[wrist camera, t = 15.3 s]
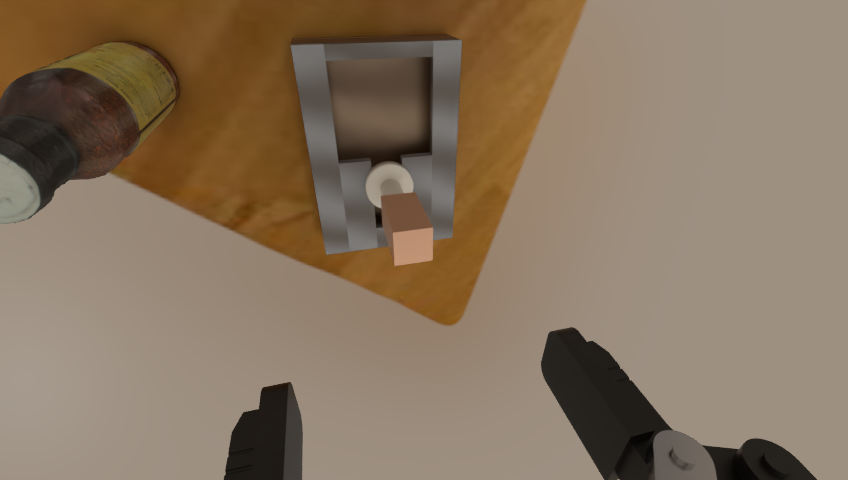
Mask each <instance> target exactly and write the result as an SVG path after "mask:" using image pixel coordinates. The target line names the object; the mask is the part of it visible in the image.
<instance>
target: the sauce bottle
mask: <svg viewBox="0 0 848 480" xmlns="http://www.w3.org/2000/svg"><path fill="white" fill-rule="evenodd" d="M178 95H179V88H178V82H177V79H176V77H175V75H174V73H173V71H172V69H171V67H170V66H169V65H168V63H167V62H166V61H165V60H164V59H163V58H162V57H161V56H159V55H158V54H157V53H155V52H154V51H152V50H151V49H149V48H147V47H144V46H142V45H140V44H137V43H133V42H120V43H119V42H111V43H105V44H101V45H99V46H96V47H94V48H91V49H89V50H86V51H84V52H81V53H79V54H75V55H72V56H70V57H67V58H65V59H63V60H61V61H57V62H55V63H54V64H50V65H48V66H46V67H42V68H40V69H37V70H35V71H33V72H30V73H28V74H26V75H24V76H22V77H20V78H18V79H16V80H15V81H14V82H12V83H11V84H10V85H9V86H8V87H7V89H6V90H5V92H4V93H3V95H2V97H1V100H0V224H7V223H16V222H20V221H23V220H26V219H29V218H31V217H32V216H33V215H35V214H36V213H37V212H38V211H39V210H41V209H42V208H44V207H45V206H46V205H47V204H48V203H49V202H50V201H51V200H52V197H53V196H54V192H55V190H56V189H57V188H59V187H60V186H61V185H62V184H65V183H66V182H67V181H68V180H77V179H91V178H96V177H100V176H103V175H106V174H107V173H108V172H109V171H111V170H112V169H114V168H115V167H116V166H117V165H118V164H119V163H120V162H121V161H122V160H123V159H124V158H126V157H127V156H129V155H130V154H131V153H132V152H133V151H134V150H135V149H136V148H137V147H138V146H139V145H140V144H141V143H142V142H143V141H144V140H145V139H146V138H147V136H148V135H149V134H150V133H151V132H152V131H153V130H154V129H155V128H156V127H157V126H158V125H159V124H160V123H161V122H162V121H163V120H164V118H165V117H166V116H167V115H168V114H169V113H170V112H171V111H172V109H173V107H174V105H175V102H176V100H177V97H178Z"/></svg>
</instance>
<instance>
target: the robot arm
mask: <svg viewBox="0 0 848 480" xmlns="http://www.w3.org/2000/svg"><path fill="white" fill-rule="evenodd" d="M541 368H542V373H543V376H544V378H545V381H546V382H547V384H548V386H549V388H550V389H551V391H552V393H553V394H554V396H555V397H556V399H557V401H558V403H559V404H560V406H561V408H562V409H563V411H564V413H565V414H566V416H567V418H568V420H569V421H570V423H571V425H572V426H573V428H574V430H575V431H576V433H577V434H578V436H579V438H580V440H581V441H582V443H583V445H584V446H585V448H586V450H587V451H588V453H589V455H590V456H591V458H592V460H593V461H594V463H595V465H596V467H597V468H598V470H599V472H600V473H601V475H602V476H603V478H604V480H617V479H620V480H817V479H816V478H815V477H814V476H813V475H812V474H811V473H810V472H809V471H808V470H807V469H806V468H805V467H804V466H803V465H802V463H800V461H799V460H797V459H796V458H795V457H794V456H793V455H792V454H791V453H790V452H788V451H786V450H785V449H784V448H782V447H780V446H779V445H777V444H775V443H773V442H770V441H767V440H763V439H750V440H747V441H746V442H745V443H744V444H743V445H742V446H741V448H740V449H731V448H721V447H711V446H703V445H701V444H700V443H698V442H697V441H696V440H695V439H693V438H691V437H690V436H688V435H686V434H684V433H681V432H678V431H673V430H672V429H671V428H670V427H669V426H668V425H667V424H666V422H665V421H664V420H663V419H662V417H661V416H660V415H659V414H658V413H657V411H656V410H655V409H654V408H653V406H652V405H651V404H650V403H649V402H648V400H647V399H646V398H645V397H644V395H643V394H642V393H641V392H640V391H639V389H638V388H637V387H636V386H635V384H634V383H633V382H632V381H630V380H629V377H628V376H627V374H626V373H625V372H624V371H623V370H622V369H620V367H619V365H618V363H617V362H616V361H615V360H614V358H613V357H612V356H611V355H610V353H609V352H607V351H606V350H605V349H603V348H602V347H600V346H599V345H598V344H596V343H595V342H593V341H589V342H586V340H585V339H584V338H583V337H582V335H581V334H580V333H579V331H578V330H576V329H575V328H572V327H571V328H566V329H561V330H556V331H551V332H550V333H549V334H548V338H547V341H546V345H545V350H544V353H543V357H542V361H541ZM302 434H303V433H302V420H301V414H300V410H299V407H298V403H297V400H296V397H295V393H294V390H293V387H292V384H291V382H288V383H283V384H278V385H273V386H268V387H263V388H262V391H261V396H260V405H259V409H258V410H253V411H248V412H244V413H243V414H242V416H241V417H240V419H239V421H238V423H237V425H236V426H235V428H234V430H233V432H232V435H231V441H230V447H229V457H228V459H227V464H226V470H225V471H226V475H225V476H224V480H302V438H303V437H302V436H303V435H302Z"/></svg>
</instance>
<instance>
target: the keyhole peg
mask: <svg viewBox="0 0 848 480" xmlns="http://www.w3.org/2000/svg"><path fill="white" fill-rule="evenodd" d="M365 189H366V192H367V196H368V198H369V200H370V201H371V202H372V203H373V204H374V205H375V206H377V207H379V208H381V210H382V225H383V229H384V232H385V236H386V239H387V242H388V246H389V249H390V252H391V256H392V259H393V262H394V265H395V266H397V265H404V264H411V263H418V262H424V261H431V260H433V226H432V224H431V222H430V220H429V218H428V216H427V215H426V213H425V211H424V209H423V207H422V205H421V203H420V201H419V199H418V197H417V195H416V193H415V192H413V180H412V178H411V176H410V174H409V172H408V170H407V169H406V168H405V167H404V166H403V165H401V164H399V163H397V162H393V161H386V162H381V163H379V164H377V165H375V166H374V167H373V168H372V169H371V170H370V171H369V172H368V174H367V176H366V179H365Z"/></svg>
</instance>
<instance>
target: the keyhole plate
mask: <svg viewBox="0 0 848 480" xmlns="http://www.w3.org/2000/svg"><path fill="white" fill-rule="evenodd" d="M461 49H462V40H460V39H457V38H455V37H452V36H449V35H446V34H445V35H408V36H370V37H333V38H296V39H292V42H291V51H292V57H293V63H294V69H295V75H296V80H297V86H298V92H299V98H300V104H301V110H302V116H303V121H304V127H305V133H306V139H307V145H308V151H309V157H310V162H311V168H312V174H313V180H314V186H315V192H316V198H317V203H318V209H319V215H320V221H321V227H322V233H323V239H324V244H325V250H326V255H328V254H336V253H343V252H350V251H358V250H365V249H372V248H379V247H387V246H388V242H387V239H386V236H385V232H384V229H383V225H382V210H381V208H379V207H377V206H375V205H374V204H373V203H372V202H371V201H370V200H369V198H368V196H367V192H366V189H365V179H366V176H367V174H368V172H369V171H370V170H371V169H372V168H373V167H374V166H375V165H377V164H379V163H381V162H386V161H393V162H397V163H399V164H401V165H403V166H404V167H405V168H406V169H407V170H408V172H409V174H410V176H411V178H412V180H413V192H415V193H416V195H417V197H418V199H419V201H420V203H421V205H422V207H423V209H424V211H425V213H426V215H427V216H428V218H429V220H430V222H431V224H432V226H433V240H438V239H445V238H452V235H453V214H454V194H455V173H456V152H457V132H458V111H459V90H460V70H461Z"/></svg>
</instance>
